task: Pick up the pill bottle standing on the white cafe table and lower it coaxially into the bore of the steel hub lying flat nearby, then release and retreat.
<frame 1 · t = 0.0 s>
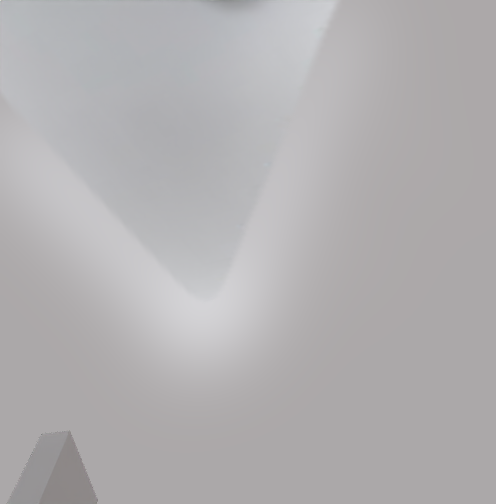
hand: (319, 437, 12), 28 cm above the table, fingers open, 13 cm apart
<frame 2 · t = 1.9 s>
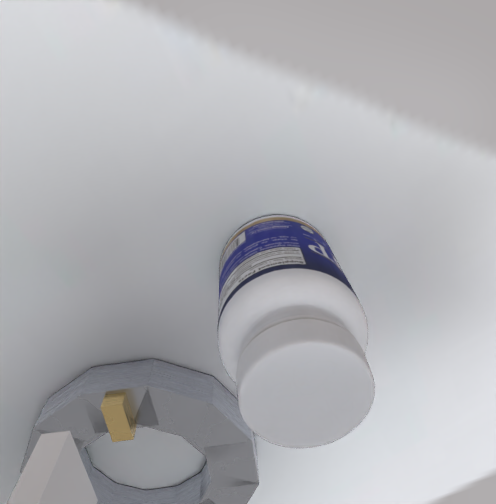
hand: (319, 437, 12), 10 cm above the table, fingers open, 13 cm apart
hub: (148, 446, 25), on the table
pill bottle: (274, 262, 21), on the table
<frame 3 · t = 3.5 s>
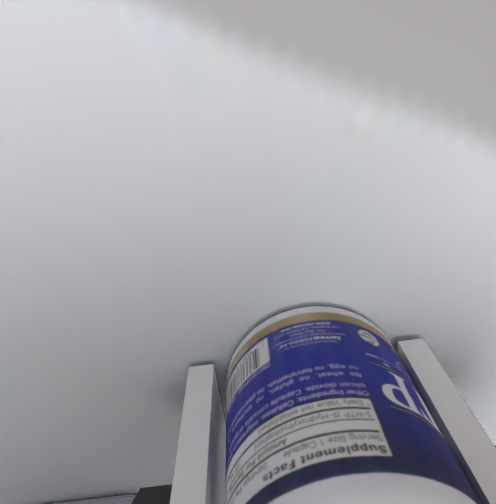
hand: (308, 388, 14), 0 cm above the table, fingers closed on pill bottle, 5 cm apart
pill bottle: (309, 368, 14), on the table, touching gripper
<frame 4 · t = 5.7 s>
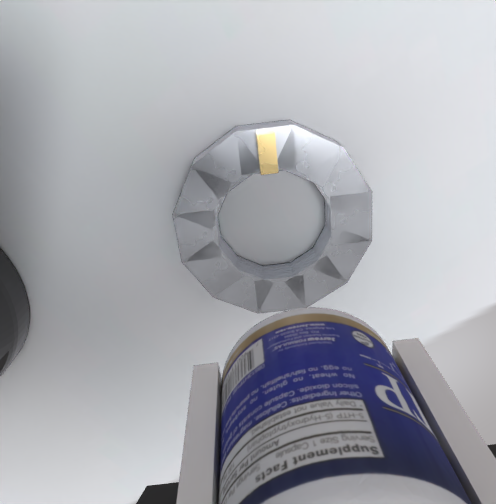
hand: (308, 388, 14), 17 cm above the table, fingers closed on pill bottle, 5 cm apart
hub: (271, 216, 29), on the table
pill bottle: (304, 369, 14), point 16 cm above the table, touching gripper
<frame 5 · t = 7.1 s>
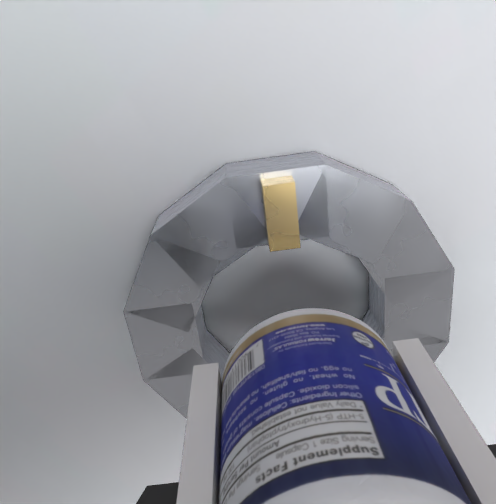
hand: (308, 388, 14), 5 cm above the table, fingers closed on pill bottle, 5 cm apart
hub: (285, 299, 18), on the table
pill bottle: (304, 370, 14), point 5 cm above the table, touching gripper
when the fingers open (3 cm above the table, at t = 7.8 s): pill bottle drops 3 cm, resting in hub.
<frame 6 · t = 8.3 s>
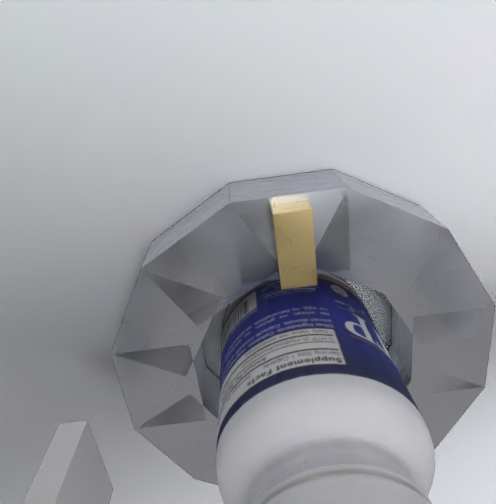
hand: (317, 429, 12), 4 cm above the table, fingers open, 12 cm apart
hub: (296, 335, 16), on the table
pill bottle: (293, 323, 16), resting in hub
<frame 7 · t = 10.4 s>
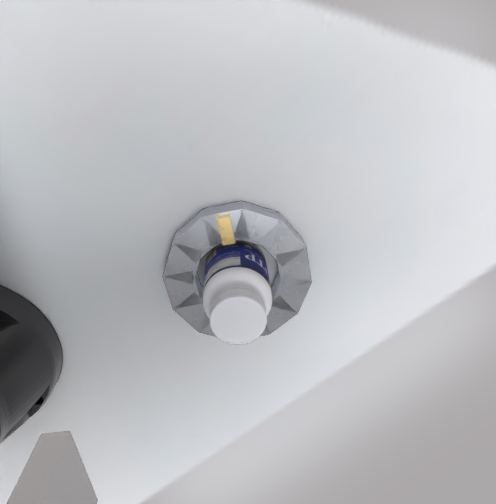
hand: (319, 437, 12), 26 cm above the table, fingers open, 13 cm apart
hub: (237, 268, 38), on the table
pill bottle: (235, 264, 38), resting in hub
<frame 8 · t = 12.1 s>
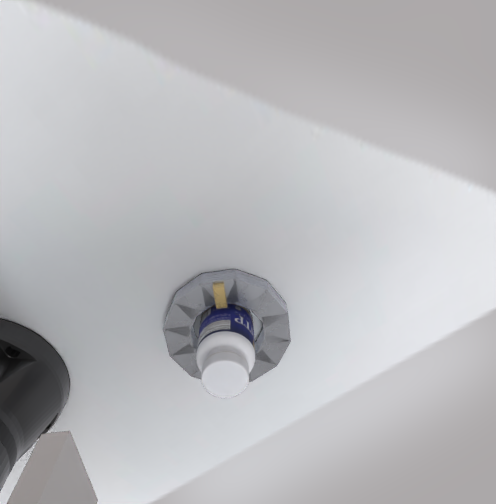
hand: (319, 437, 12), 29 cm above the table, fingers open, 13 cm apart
hub: (227, 323, 44), on the table
pill bottle: (226, 319, 44), resting in hub
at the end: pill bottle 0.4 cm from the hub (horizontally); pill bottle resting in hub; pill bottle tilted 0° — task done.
